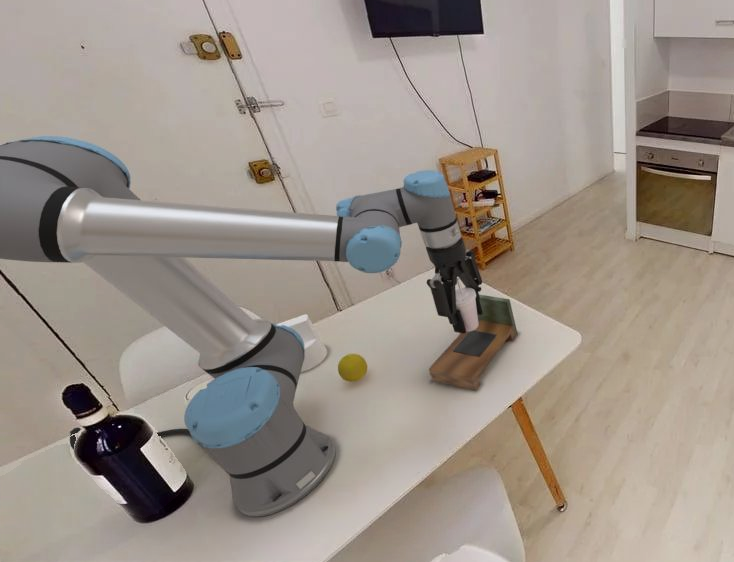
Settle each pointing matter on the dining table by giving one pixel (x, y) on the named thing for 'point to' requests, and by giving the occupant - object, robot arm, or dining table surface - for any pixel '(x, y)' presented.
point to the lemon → (352, 367)
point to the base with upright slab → (308, 341)
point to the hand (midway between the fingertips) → (469, 322)
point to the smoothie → (467, 306)
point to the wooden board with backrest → (476, 345)
